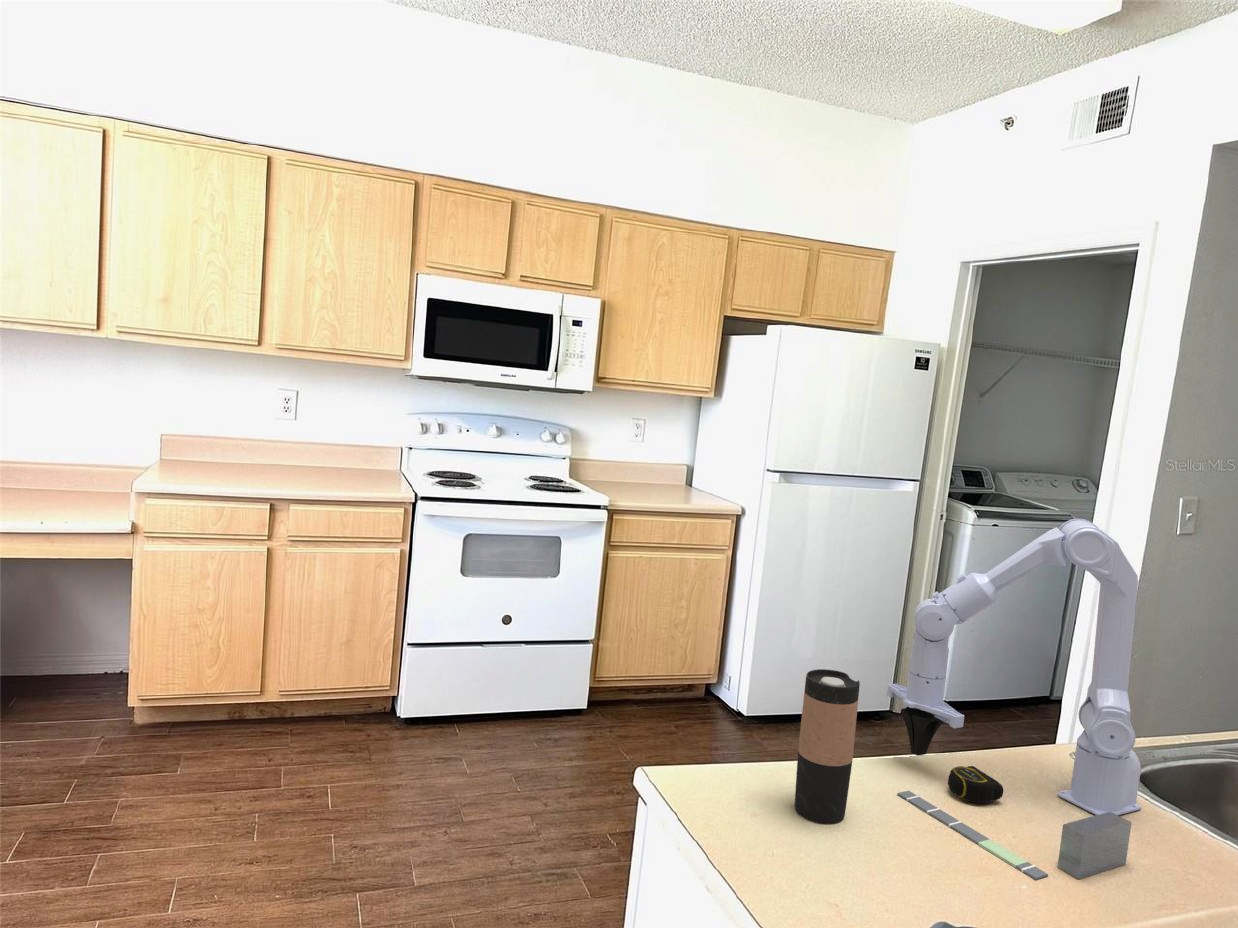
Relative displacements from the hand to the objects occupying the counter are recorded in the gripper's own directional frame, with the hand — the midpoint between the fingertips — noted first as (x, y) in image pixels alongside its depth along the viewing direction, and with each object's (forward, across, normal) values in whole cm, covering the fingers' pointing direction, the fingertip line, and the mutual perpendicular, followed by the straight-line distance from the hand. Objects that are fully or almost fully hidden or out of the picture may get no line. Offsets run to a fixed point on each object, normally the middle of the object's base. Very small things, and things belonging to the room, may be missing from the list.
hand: (918, 753), depth 143 cm
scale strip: (+2, +18, -10) cm, 21 cm away
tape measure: (+3, +10, +1) cm, 11 cm away
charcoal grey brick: (+2, +31, 0) cm, 31 cm away
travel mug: (+3, +6, -26) cm, 27 cm away
